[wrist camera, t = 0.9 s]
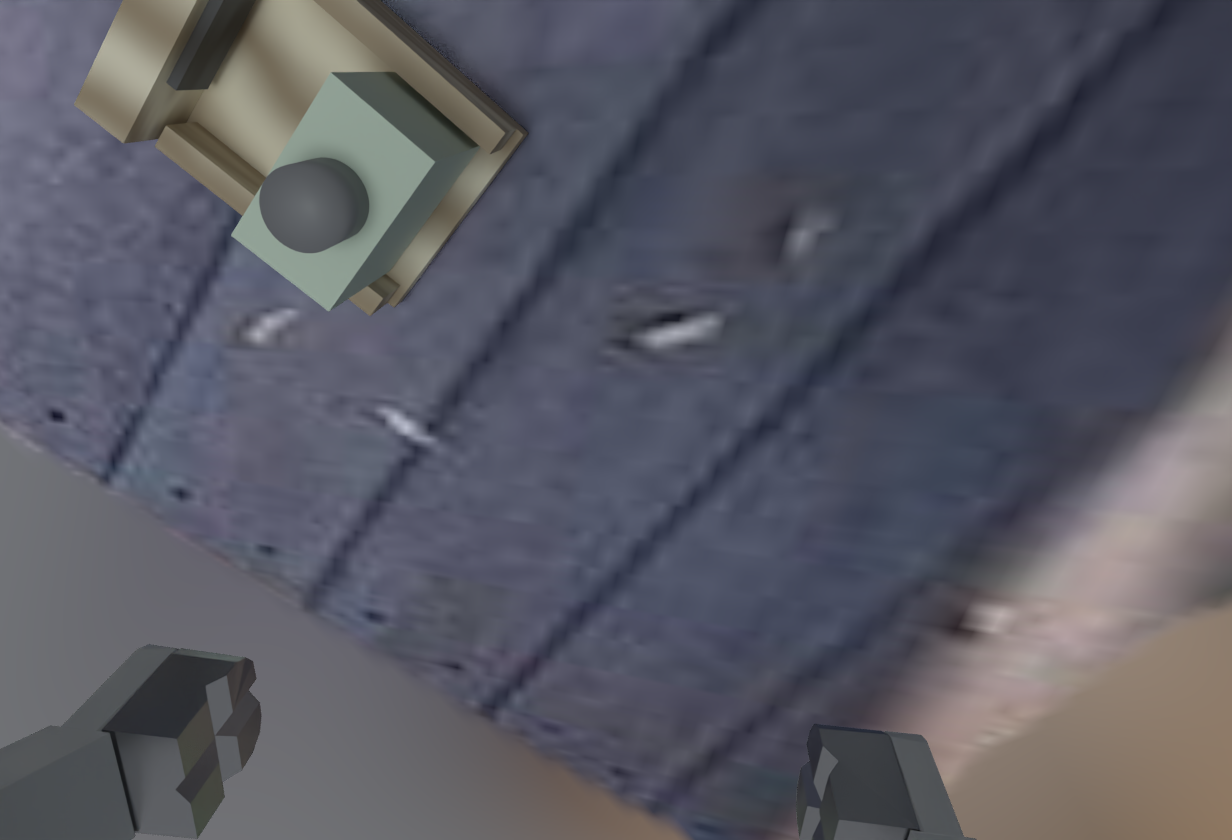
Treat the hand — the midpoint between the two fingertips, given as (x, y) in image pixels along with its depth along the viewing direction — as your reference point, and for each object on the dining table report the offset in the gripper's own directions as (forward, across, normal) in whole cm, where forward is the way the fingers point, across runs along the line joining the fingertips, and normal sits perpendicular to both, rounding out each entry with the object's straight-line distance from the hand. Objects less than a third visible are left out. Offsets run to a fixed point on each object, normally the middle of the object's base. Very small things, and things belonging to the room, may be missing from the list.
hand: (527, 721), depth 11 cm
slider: (+39, +15, -3) cm, 42 cm away
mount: (+40, +19, -6) cm, 45 cm away
